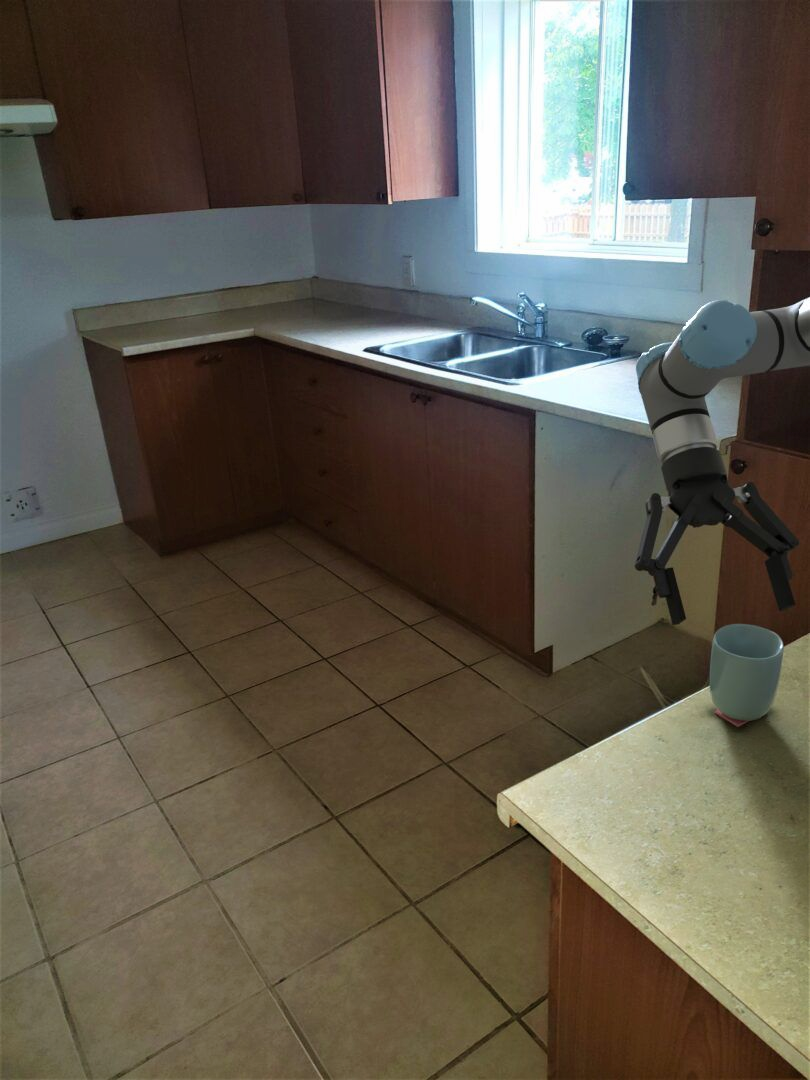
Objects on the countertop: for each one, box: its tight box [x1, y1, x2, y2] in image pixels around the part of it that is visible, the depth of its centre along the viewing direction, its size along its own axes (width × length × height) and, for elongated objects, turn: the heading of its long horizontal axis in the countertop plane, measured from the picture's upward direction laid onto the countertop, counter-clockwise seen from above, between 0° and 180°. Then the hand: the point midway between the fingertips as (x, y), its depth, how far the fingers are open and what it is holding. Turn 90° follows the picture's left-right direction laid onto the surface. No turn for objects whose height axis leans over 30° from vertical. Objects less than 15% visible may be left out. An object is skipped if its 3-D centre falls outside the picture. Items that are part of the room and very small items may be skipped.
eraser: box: [714, 709, 749, 728], centre depth 100 cm, size 5×3×1 cm
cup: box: [708, 623, 785, 722], centre depth 98 cm, size 8×8×10 cm
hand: (733, 615), depth 99 cm, fingers open, 13 cm apart
